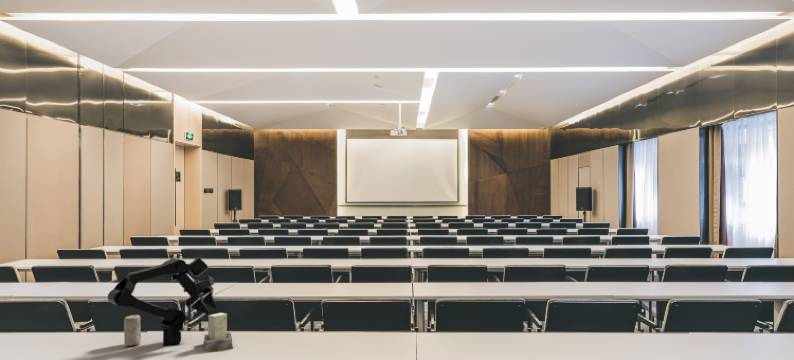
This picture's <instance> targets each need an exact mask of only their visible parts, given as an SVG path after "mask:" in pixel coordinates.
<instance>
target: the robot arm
mask: <svg viewBox="0 0 794 360" xmlns="http://www.w3.org/2000/svg"><path fill="white" fill-rule="evenodd" d="M208 269H209V267H208V264H207V263H206V262H205V261H204V260H202V259H201V257H196V258H195V259H194V260H192V262H189V263H186V261H185V260H184V259H180V258H176V257H174V258H171V259H168V260H166V261H164V262H162V263H161V264H159V265H156V266H151V267H148V268H147V267H146V268H144V269H140V270H136V271H133V272H128V273H126V275H125V276H124V277H123V278H122V279H121V280H120V281H119V282H118V283H116V285H115V286H114V288H113V289H112V290H110V291H108V294H107V300H108V302H109V303H111V304H113V305H116V306H119V307H124V308H135V309H137V310H139V311H141V312H146V313H148V314H151V315H153V316H157V317H159V318H161V319H162V320H161V321H160V323H159V325H160V328H161V329H162V336H163V337H162V338H163V339H162V347H169V346H179V345H180V344H181V342H182V328H183V327H184V323H185V322H186V320H187V316H186V313H185V312H184V310H183V309H180V308H177V307H175V306H172V305H167V308H166V307H160V306H159V305H156V304H153V303H150V302H147V301H145V300H142V299H140V298H137V297H135V296H134V295H133V293H134V291H135V288H136V286H137V284H138V283H139V282H142V281H145V280H150V279H153V278H156V277H160V276H163V275H171V281H170V283H172V284H173V283H174V282H177V283H178V284H179V285H180V286H181V287H182V288H183V292H184V293H187V294H188V295H189V297H188V298H187V299H186V300H185V302H184V305H185V306H186V308H189V309H193V310H197V311H199V312H200V313H203V314H206V315H210V310H209V309H208V307H207V306H206V305H208V306H209V307H211V308H213V309H214V310H216V309H218V305H217V303H216V301H215V299H214V296H213V295H214V292H215V290H214V287H213V285H214V286H215V282H214V280H215V278H213V277H212V276H210V275H208V276H205V278H204V280H201V281H200V280H199V279H195V278H198V277H199V276H200V275H202V274H203V273H204V272H206V271H207V270H208ZM194 277H195V278H194Z"/></svg>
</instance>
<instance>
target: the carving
mask: <svg viewBox="0 0 794 360" xmlns="http://www.w3.org/2000/svg"><path fill="white" fill-rule="evenodd" d="M123 329H124V330H123V332H124V333H123V337H124V339H123V340H124V341H123V342H124V345H125V346H126V347H131V346H136V345H140V344H141V341H142V335H141V316H140V315H139V314H132V315H128V316H125V318H124V320H123Z"/></svg>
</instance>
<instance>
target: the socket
mask: <svg viewBox="0 0 794 360" xmlns="http://www.w3.org/2000/svg"><path fill="white" fill-rule="evenodd" d="M203 337H204V338H203V352H204V353H208V352H209V353H210V352H216V351H218V352H219V351H226V350H233V349H234V346H233V337H232V333H231V331H227V339H218V340H209V341H208V333H207V334H205V333H204V334H203Z"/></svg>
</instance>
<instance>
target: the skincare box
mask: <svg viewBox="0 0 794 360" xmlns="http://www.w3.org/2000/svg"><path fill="white" fill-rule="evenodd" d="M227 332H228V314H227V313H226V312H218V313H213V314H208V333H207V334H208V341H209V340H218V339H227Z"/></svg>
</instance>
